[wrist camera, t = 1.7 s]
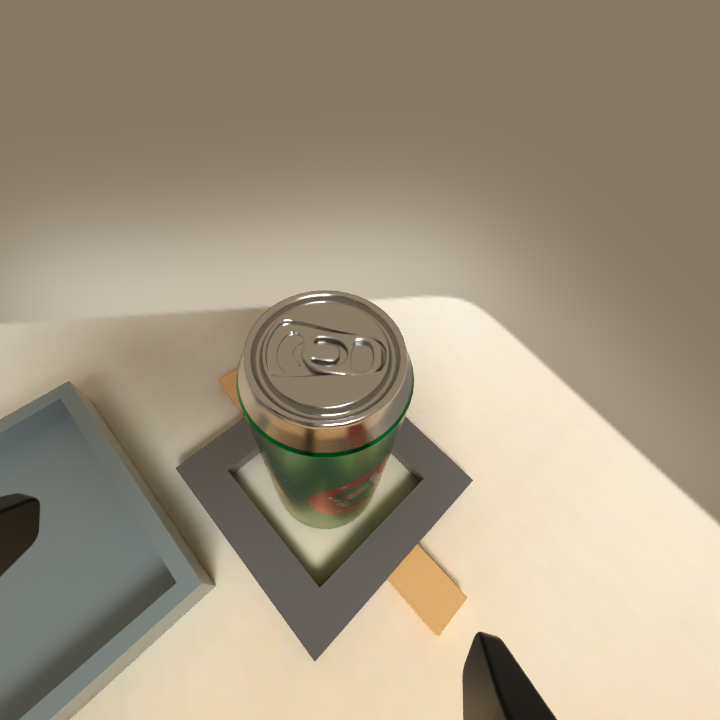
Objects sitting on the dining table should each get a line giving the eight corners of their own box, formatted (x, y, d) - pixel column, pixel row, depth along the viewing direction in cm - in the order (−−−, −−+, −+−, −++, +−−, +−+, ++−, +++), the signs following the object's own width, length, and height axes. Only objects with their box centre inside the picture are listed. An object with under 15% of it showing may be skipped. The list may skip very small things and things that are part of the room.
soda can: (286, 429, 22) (250, 272, 12) (377, 437, 22) (419, 288, 12) (269, 526, 19) (202, 431, 9) (373, 534, 19) (424, 451, 9)
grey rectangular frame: (365, 728, 15) (367, 734, 14) (151, 432, 21) (145, 426, 20) (515, 528, 20) (521, 525, 19) (304, 329, 25) (303, 322, 25)
